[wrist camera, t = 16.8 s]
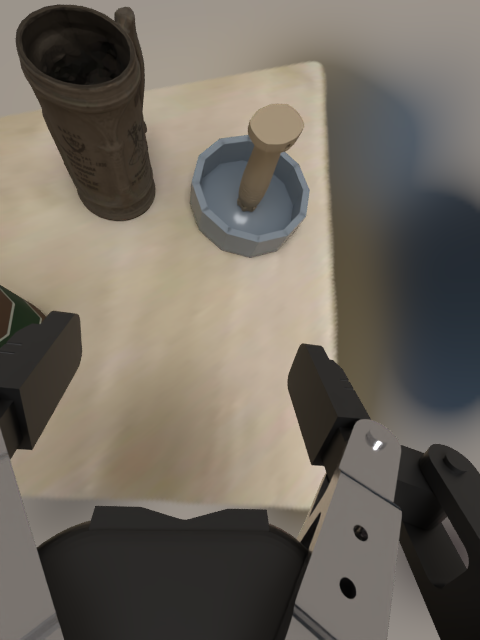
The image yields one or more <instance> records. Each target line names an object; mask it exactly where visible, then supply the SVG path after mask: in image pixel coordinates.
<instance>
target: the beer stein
mask: <svg viewBox="0 0 480 640" xmlns="http://www.w3.org/2000/svg"><path fill="white" fill-rule="evenodd" d="M16 47H17V52H18V55H19V58H20V63H21V68H22V70H23V73H24V75H25V77H26V79H27V80H28V82H29V84H30V85H31V87H32V89H33V91H34V93H35V95H36V97H37V99H38V101H39V103H40V105H41V107H42V113H43V117H44V119H45V122H46V124H47V126H48V129H49V131H50V133H51V135H52V137H53V139H54V141H55V144H56V146H57V148H58V150H59V152H60V154H61V156H62V159H63V161H64V164H65V166H66V168H67V170H68V172H69V175H70V176H71V178H72V180H73V182H74V184H75V186H76V188H77V191H78V194H79V197H80V199H81V200H82V202H83V203H84V205H85V206H86V207H87V208H88V209H89V210H90V211H91V212H93V213H95V214H96V215H98V216H100V217H103V218H106V219H111V220H128V219H132V218H135V217H137V216H139V215H141V214H142V213H144V212H145V211H146V210H147V209H148V208H149V206H150V205H151V203H152V202H153V199H154V196H155V184H154V180H153V173H152V168H151V164H150V159H149V154H148V146H147V141H146V136H145V133H146V132H147V127H146V124H145V122H144V120H143V113H142V110H143V98H144V84H145V78H144V77H145V74H144V61H143V56H142V51H141V47H140V44H139V40H138V37H137V33H136V27H135V16H134V12H133V11H132V9H131V8H130V7H123V8H119V9H118V10H117V11H116V12H115V21H114V20H112V19H111V18H109V17H108V16H106V15H105V14H102V13H100V12H98V11H96V10H93V9H90V8H87V7H83V6H77V5H53V6H47V7H43V8H41V9H39V10H37V11H34V12H32V13H31V14H29V15H28V16H27V17H26V18H25V19H24V20H22V22H21V23H20V25H19V27H18V29H17V32H16Z"/></svg>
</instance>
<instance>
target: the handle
mask: <svg viewBox="0 0 480 640" xmlns="http://www.w3.org/2000/svg"><path fill="white" fill-rule="evenodd" d="M303 128H304V122H303V120H302V118H301V116H300V115H299V113H298V112H297V111H296V110H295V109H294V108H293V107H291V106H289V105H287V104H271V105H268V106H266V107H263V108H261V109H259V110H258V111H257V112H256V113H255V114H254V116H253V117H252V118H251V120H250V122H249V126H248V135H249V137H250V140H251V141H252V143H253V144H254V148H253V150H252V153H251V156H250V158H249V161H248V163H247V165H246V168H245V170H244V173H243V176H242V179H241V183H240V187H239V198H238V199H237V204H238V206H240V207H241V210H242V211H250V212H253V211H254V210H255V209H256V207H257V205H258V204H259V203H260V201H261V200H262V198H263V197H264V195H265V193H266V191H267V189H268V187H269V185H270V182H271V179H272V176H273V173H274V171H275V168H276V165H277V162H278V160H279V157H280V154H281V153H282V152H285V151H287V150H288V149H289V148H290V147H291V146H293V145H294V143H295V142H296V140H297V139H298V137H299V136H300V134H301V132H302V130H303Z"/></svg>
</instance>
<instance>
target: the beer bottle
mask: <svg viewBox="0 0 480 640" xmlns="http://www.w3.org/2000/svg"><path fill="white" fill-rule="evenodd" d="M45 318H46V317H45V315H44V314H43V313H42V312H41V311H40V310H39V309H38V308H36V307H35V306H34V305H32V304H31V303H29V302H27V301H26V300H24V299H22V298H21V297H19V296H17V295H16V294H14V293H12V292H11V291H9V290H7V289H6V288H4V287H3V286H1V285H0V348H1V347H2V346H3V345H4V344H6V343H7V341H8V340H9V339H10V338H11V337H12V336H13V335H14V334H15V333H16V332H17V331H19V330H20V329H22V328H24V327H26V326H28V325H30V324H32V323H34V324H41V323H42V321H43V320H44V319H45Z"/></svg>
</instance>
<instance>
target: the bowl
mask: <svg viewBox="0 0 480 640" xmlns="http://www.w3.org/2000/svg"><path fill="white" fill-rule="evenodd" d="M253 148H254V144H253V143H252V141H251V140H250V137H249V135H244V136H236V137H229V138H221V139H219V140H217V141H216V142H215V143H214V144H213V145H211V146H210V147H209V148H208V149H206V150H205V151H204V152H203V153H201V154H200V155H199V157H198V160H197V164H196V168H195V172H194V176H193V179H192V184H191V196H190V205H191V208H192V211H193V214H194V217H195V220H196V222H197V225H198V228H199V230H200V231H201V232H202V233H203V234H204V235H205V236H206V237H208V238H209V239H210V240H211V241H212V242H213V243H214V244H215V245H216V246H218V247H219V248H220V249H221V250H223V251H227V252H231V253H235V254H238V255H242V256H246V257H250V258H251V257H255V256H259V255H263V254H267V253H271V252H275V251H277V250H278V249H279V248H280V247H281V246H282V245H283V244H284V242H285V241H286V240H287V239H288V238H289V237H290V236H291V235H292V234H293V233H294V232H295V230H296V229H297V228H298V226H299V225H300V224H301V222H302V221H303V220H304V218H305V217H306V212H307V205H308V198H309V191H310V190H309V188H308V185H307V183H306V181H305V178H304V176H303V173H302V171H301V169H300V166H299V164H298V163H297V162H296V161H294V160H293V159H292V158H291V157H290V156H289V155H288V154H287V153H286V152H282V153H281V154H280V157H279V160H278V162H277V165H276V168H275V171H274V173H273V176H272V179H271V182H270V185H269V187H268V189H267V191H266V193H265V195H264V197H263V198H262V200H261V201H260V203H259V204H258V205H257V207H256V209H255V210H254V211H253V212H250V211H242V210H241V207H240V206H238V204H237V199H238V198H239V187H240V183H241V179H242V176H243V173H244V170H245V168H246V165H247V163H248V161H249V158H250V156H251V153H252V150H253Z"/></svg>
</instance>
